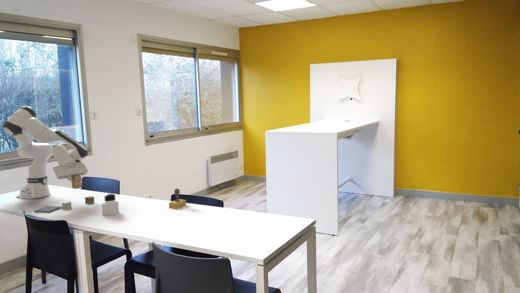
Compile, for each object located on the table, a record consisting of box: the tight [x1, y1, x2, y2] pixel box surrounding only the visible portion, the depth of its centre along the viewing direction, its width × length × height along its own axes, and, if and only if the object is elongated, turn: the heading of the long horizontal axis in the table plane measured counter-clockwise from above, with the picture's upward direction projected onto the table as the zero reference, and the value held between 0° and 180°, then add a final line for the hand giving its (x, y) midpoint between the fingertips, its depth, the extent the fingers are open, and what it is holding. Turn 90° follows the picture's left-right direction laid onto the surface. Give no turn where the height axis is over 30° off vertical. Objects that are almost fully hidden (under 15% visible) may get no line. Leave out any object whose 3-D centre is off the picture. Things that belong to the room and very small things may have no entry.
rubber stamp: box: [168, 188, 187, 210], centre depth 253 cm, size 10×6×12 cm, turn 148°
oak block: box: [70, 175, 82, 189], centre depth 259 cm, size 4×4×8 cm
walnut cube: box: [84, 195, 95, 205], centre depth 268 cm, size 4×4×4 cm
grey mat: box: [33, 205, 62, 214], centre depth 252 cm, size 11×11×1 cm
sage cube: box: [61, 201, 72, 210], centre depth 255 cm, size 4×4×4 cm
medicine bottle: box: [101, 193, 120, 217], centre depth 239 cm, size 7×7×12 cm
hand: (76, 180), depth 259 cm, fingers closed on oak block, 4 cm apart
